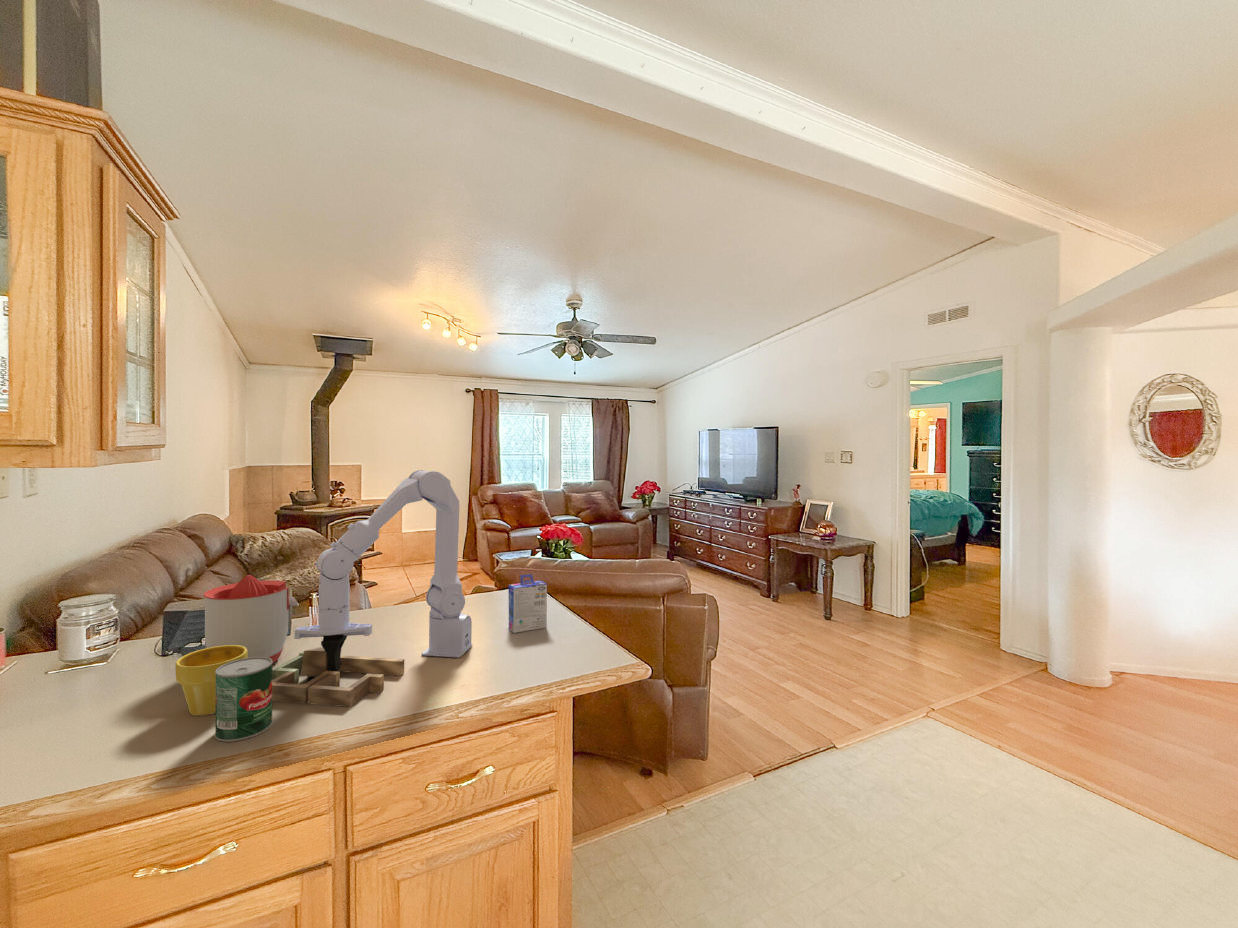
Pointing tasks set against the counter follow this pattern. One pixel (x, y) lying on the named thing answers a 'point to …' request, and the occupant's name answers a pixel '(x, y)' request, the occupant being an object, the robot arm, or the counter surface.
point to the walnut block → (315, 662)
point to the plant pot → (204, 675)
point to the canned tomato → (243, 698)
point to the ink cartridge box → (527, 605)
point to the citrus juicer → (249, 616)
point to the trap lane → (332, 681)
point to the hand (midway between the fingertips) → (333, 670)
